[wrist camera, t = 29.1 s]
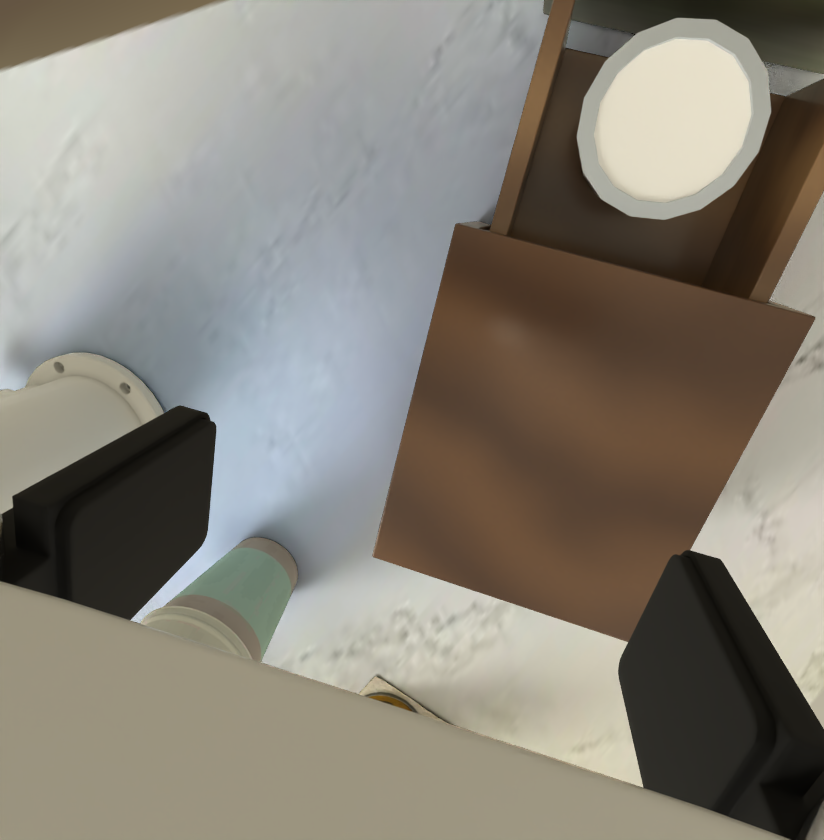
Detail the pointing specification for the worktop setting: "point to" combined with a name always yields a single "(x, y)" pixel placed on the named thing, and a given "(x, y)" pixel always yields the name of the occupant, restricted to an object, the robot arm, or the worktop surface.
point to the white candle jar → (674, 118)
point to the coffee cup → (233, 600)
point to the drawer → (696, 231)
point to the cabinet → (574, 425)
